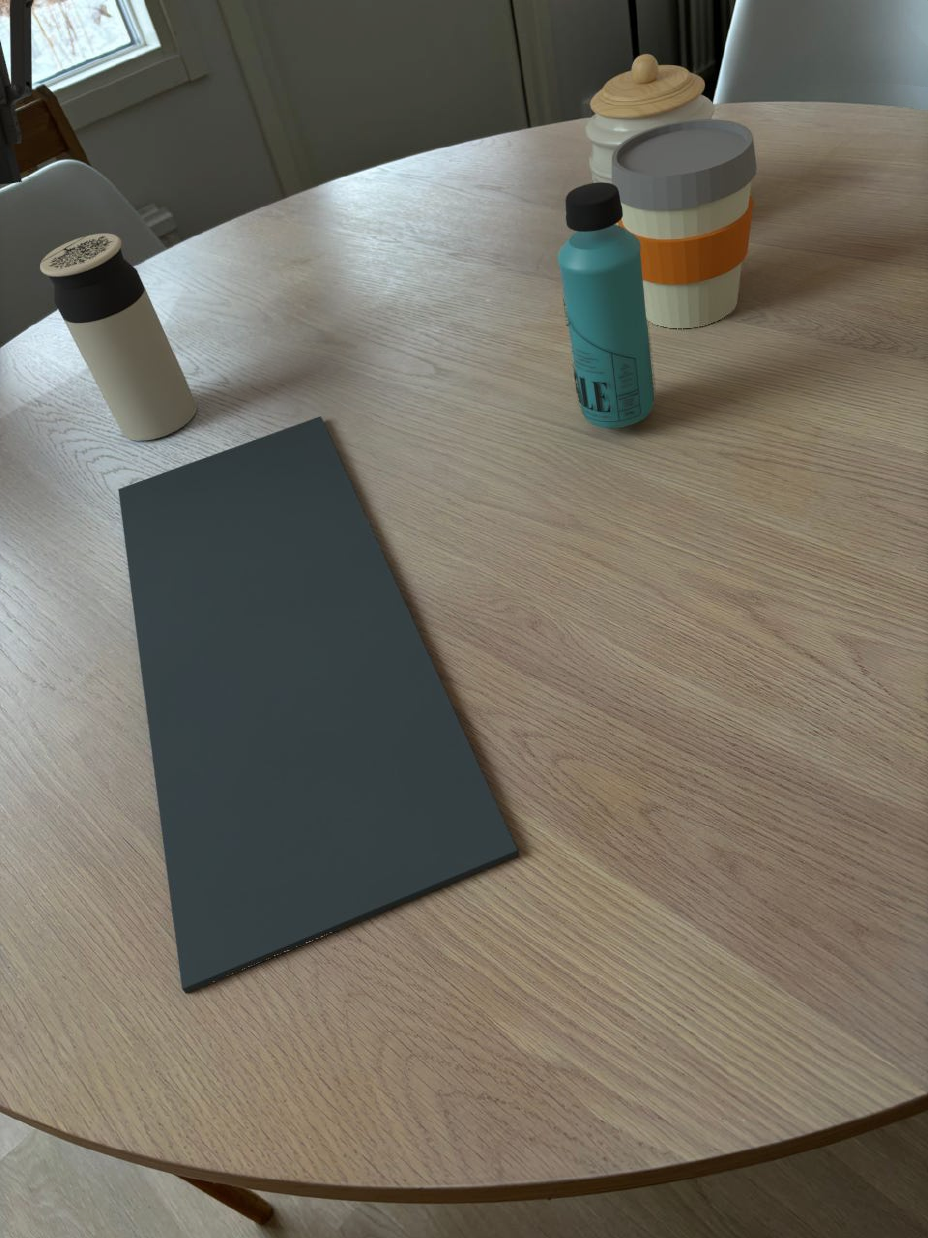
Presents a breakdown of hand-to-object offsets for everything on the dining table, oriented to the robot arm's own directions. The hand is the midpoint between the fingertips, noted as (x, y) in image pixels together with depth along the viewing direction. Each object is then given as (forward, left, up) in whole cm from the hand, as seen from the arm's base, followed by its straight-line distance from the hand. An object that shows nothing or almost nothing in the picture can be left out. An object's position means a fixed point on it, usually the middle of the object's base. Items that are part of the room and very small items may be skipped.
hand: (10, 182), depth 98 cm
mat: (+10, -51, -22) cm, 56 cm away
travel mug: (+5, -13, -22) cm, 26 cm away
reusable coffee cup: (+57, -27, -22) cm, 67 cm away
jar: (+62, -10, -22) cm, 66 cm away
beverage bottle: (+43, -41, -22) cm, 63 cm away
